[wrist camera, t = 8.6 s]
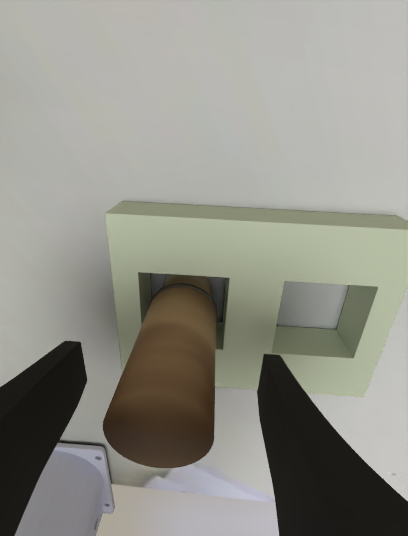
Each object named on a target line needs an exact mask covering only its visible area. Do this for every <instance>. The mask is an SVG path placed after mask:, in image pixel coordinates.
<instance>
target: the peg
mask: <svg viewBox="0 0 408 536" xmlns="http://www.w3.org/2000/svg"><path fill="white" fill-rule="evenodd" d="M216 323H217V308H216V305H215V303H214V301H213V299H212V298H211V284H210V281H209V279H208V278H207V277H206V276H193V275H176V274H170V275H169V276H168V277H167V279H166V281H165V284H164V286H163V288H161V289H160V290H159V291H158V292H156V293H155V295H154V296H153V298H152V299H151V302H150V304H149V307H148V312H147V314H146V317H145V319H144V322H143V324H142V326H141V329H140V331H139V334H138V336H137V339H136V341H135V344H134V346H133V349H132V351H131V354H130V356H129V359H128V361H127V364H126V366H125V368H124V371H123V373H122V376H121V378H120V381H119V383H118V386H117V388H116V391H115V393H114V396H113V398H112V401H111V403H110V405H109V408H108V410H107V413H106V415H105V418H104V421H103V431H104V435H105V437H106V439H107V441H108V443H109V444H110V445H111V446H112V448H113V449H114V450H116V451H117V452H118V453H119V454H121V455H122V456H124V457H125V458H127V459H129V460H131V461H133V462H136V463H138V464H141V465H145V466H150V467H156V468H176V467H182V466H186V465H189V464H192V463H194V462H196V461H198V460H200V459H201V458H203V457H204V456H205V455H206V454H207V453H208V452H209V450H210V449H211V447H212V445H213V441H214V407H215V351H216Z"/></svg>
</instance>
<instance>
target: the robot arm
mask: <svg viewBox="0 0 408 536" xmlns="http://www.w3.org/2000/svg"><path fill="white" fill-rule="evenodd" d="M86 383H87V376H86V370H85V364H84V359H83V353H82V347H81V342H75V341H64V342H63V343H62V344H60V345H59V346H57V347H56V348H55V349H53V350H52V351H50V352H49V353H48V354H46V355H45V356H44V357H42V358H41V359H40V360H38V361H37V362H36V363H34V364H33V365H31V366H30V367H29V368H27V369H26V370H24V371H23V372H22V373H20V374H19V375H17V376H16V377H15V378H13V379H12V380H10V381H9V382H7V383H6V384H4V385H3V386H1V387H0V536H96V533H97V530H98V526H99V523H100V520H101V516H102V513H113V512H114V508H115V506H114V500H113V494H112V489H111V482H110V476H109V470H108V464H107V458H106V452H105V449H104V448H103V447H101V446H93V445H79V444H66V443H58V441H59V440H60V438H61V436H62V434H63V432H64V430H65V428H66V427H67V425H68V423H69V421H70V419H71V417H72V415H73V413H74V411H75V410H76V408H77V406H78V403H79V401H80V398H81V396H82V393H83V391H84V388H85V385H86ZM257 394H258V406H259V416H260V423H261V428H262V433H263V438H264V443H265V448H266V453H267V458H268V463H269V468H270V473H271V478H272V483H273V489H274V495H275V502H276V510H277V519H278V527H279V536H408V501H406V500H405V499H404V498H403V497H402V496H401V495H400V494H399V493H397V492H396V491H395V490H394V489H393V488H392V487H391V486H390V485H389V484H388V483H387V482H386V481H385V480H384V479H382V478H381V477H380V476H379V475H378V474H377V473H376V472H375V471H374V470H373V469H372V468H371V467H370V466H369V465H368V464H367V463H366V462H365V461H364V460H363V459H362V458H361V457H360V456H359V455H358V454H357V453H356V452H355V451H354V450H353V449H352V448H351V447H350V446H349V445H348V444H347V442H346V441H345V440H344V439H343V438H342V437H341V436H340V435H339V434H338V432H337V431H336V430H335V429H334V428H333V427H332V425H331V424H330V423H329V422H328V421H327V419H326V418H325V417H324V416H323V414H322V413H321V412H320V411H319V409H318V408H317V407H316V406H315V404H314V403H313V402H312V400H311V399H310V398H309V396H308V395H307V394H306V392H305V391H304V390H303V388H302V387H301V385H300V384H299V382H298V381H297V380H296V378H295V377H294V375H293V374H292V372H291V371H290V369H289V368H288V366H287V365H286V363H285V361H284V360H283V358H282V357H281V356H280V355H275V354H264V355H263V361H262V367H261V373H260V379H259V385H258V391H257Z"/></svg>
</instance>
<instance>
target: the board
mask: <svg viewBox="0 0 408 536" xmlns="http://www.w3.org/2000/svg"><path fill="white" fill-rule="evenodd" d="M105 217H106V226H107V236H108V245H109V254H110V264H111V273H112V282H113V292H114V301H115V310H116V320H117V329H118V338H119V348H120V357H121V366H122V373H123V371H124V368H125V366H126V364H127V361H128V359H129V356H130V354H131V351H132V349H133V346H134V344H135V341H136V339H137V336H138V334H139V331H140V329H141V326H142V324H143V322H144V319H145V317H146V314H147V312H148V307H149V304H150V302H151V275H150V273H160V274H176V275H193V276H210V277H226V289H225V300H224V312H223V322H217V323H216V351H215V387H223V388H237V389H252V390H258V385H259V379H260V373H261V367H262V361H263V355H264V354H275V355H280V356H281V357H282V358H283V360H284V361H285V363H286V365H287V366H288V368H289V369H290V371H291V372H292V374H293V375H294V377H295V378H296V380H297V381H298V382H299V384H300V385H301V387H302V388H303V390H304V391H305V392H306V393H309V394H323V395H337V396H352V397H364V395H365V392H366V390H367V387H368V385H369V382H370V380H371V377H372V375H373V372H374V370H375V367H376V365H377V362H378V360H379V357H380V355H381V352H382V350H383V347H384V345H385V342H386V340H387V337H388V335H389V332H390V329H391V327H392V324H393V322H394V319H395V317H396V314H397V312H398V309H399V307H400V304H401V302H402V299H403V297H404V294H405V292H406V289H407V287H408V221H407V220H404V219H402V218H400V217H398V216H389V215H371V214H352V213H334V212H315V211H296V210H278V209H259V208H240V207H222V206H203V205H184V204H166V203H147V202H129V201H122V202H121V203H119V204H118V205H116V206H115V207H113V208H112V209H111V210H109V211H108V212H106V213H105ZM285 281H293V282H309V283H326V284H343V285H349V289H348V292H347V295H346V299H345V302H344V306H343V309H342V312H341V316H340V319H339V322H338V326H337V329H336V330H335V329H319V328H304V327H288V326H276V325H277V319H278V314H279V309H280V303H281V298H282V292H283V287H284V282H285Z"/></svg>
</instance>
